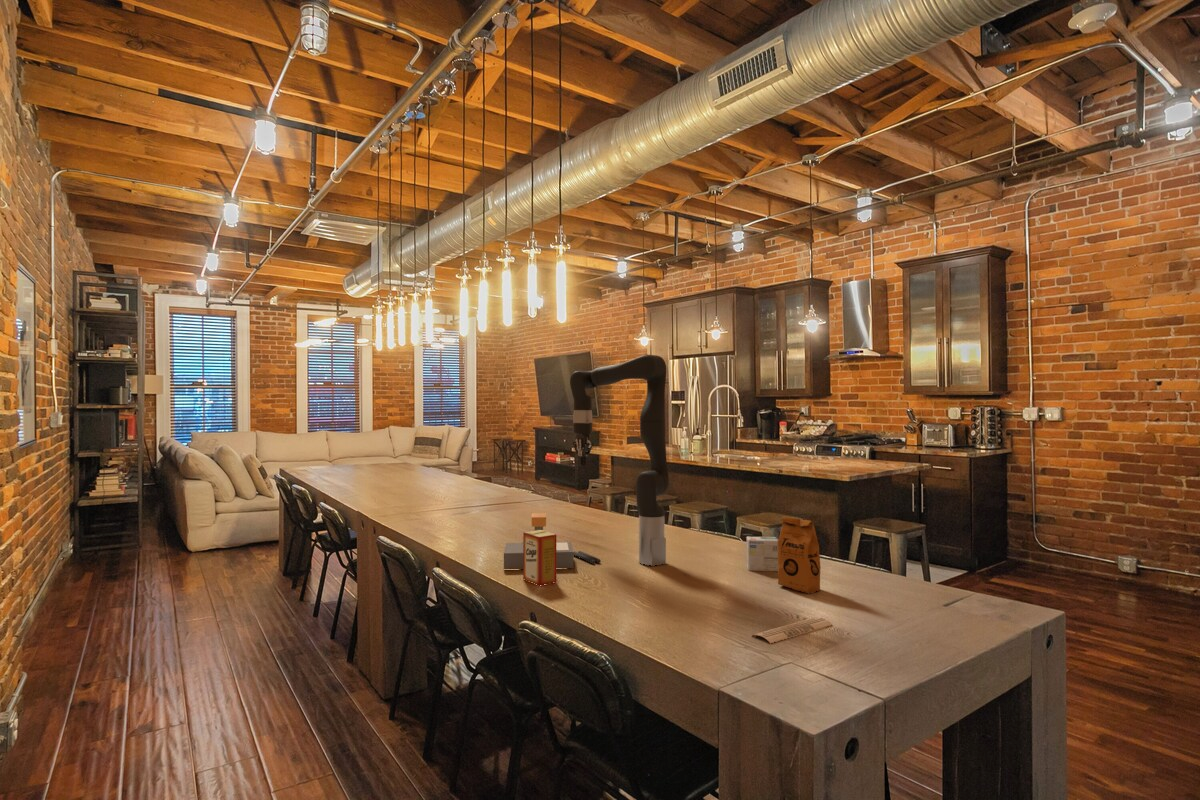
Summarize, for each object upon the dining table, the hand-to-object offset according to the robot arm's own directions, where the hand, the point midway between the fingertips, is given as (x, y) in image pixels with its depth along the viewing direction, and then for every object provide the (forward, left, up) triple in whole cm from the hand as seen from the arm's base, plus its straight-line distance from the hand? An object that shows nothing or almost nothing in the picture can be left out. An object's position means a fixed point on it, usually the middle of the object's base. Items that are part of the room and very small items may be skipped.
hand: (582, 465), depth 252 cm
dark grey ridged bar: (-14, +6, -33) cm, 36 cm away
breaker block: (-11, +24, -33) cm, 42 cm away
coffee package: (-79, -34, -33) cm, 92 cm away
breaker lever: (-11, +24, -26) cm, 37 cm away
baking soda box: (-31, +33, -33) cm, 56 cm away
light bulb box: (-56, -41, -33) cm, 77 cm away
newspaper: (-104, -4, -34) cm, 110 cm away
